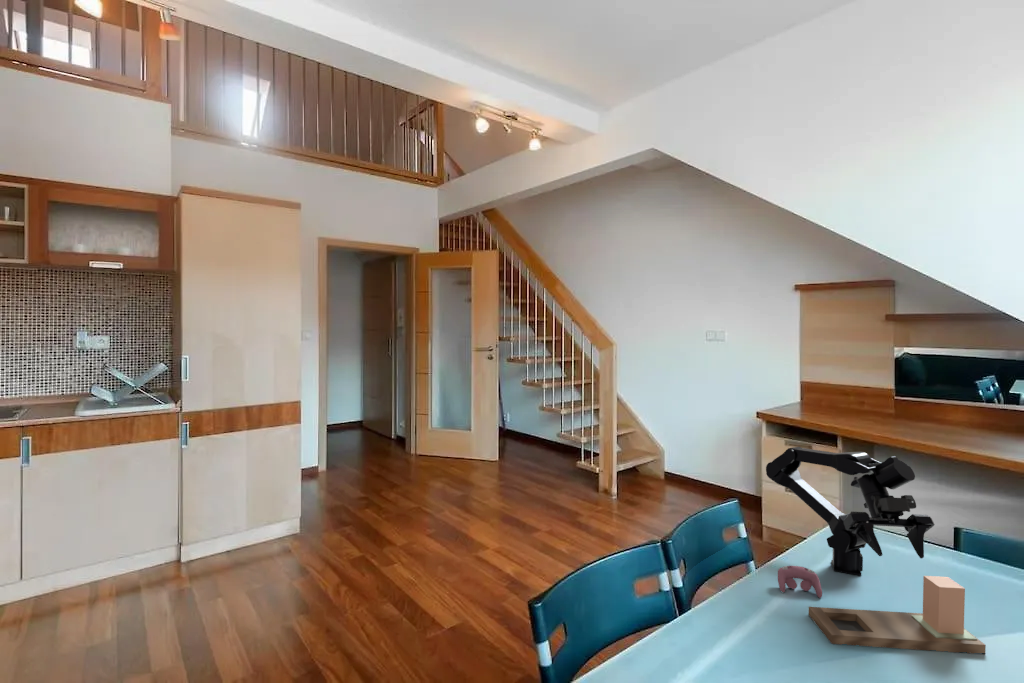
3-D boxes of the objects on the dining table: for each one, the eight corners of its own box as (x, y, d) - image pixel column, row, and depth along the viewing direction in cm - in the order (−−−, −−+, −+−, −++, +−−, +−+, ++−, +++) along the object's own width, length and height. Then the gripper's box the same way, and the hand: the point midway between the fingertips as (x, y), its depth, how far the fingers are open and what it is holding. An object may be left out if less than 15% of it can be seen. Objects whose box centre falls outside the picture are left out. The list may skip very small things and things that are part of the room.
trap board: (831, 643, 109) (831, 633, 109) (808, 614, 120) (808, 605, 120) (985, 654, 106) (985, 643, 106) (946, 623, 117) (947, 613, 117)
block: (938, 632, 109) (939, 587, 109) (922, 619, 114) (923, 575, 114) (963, 634, 109) (964, 588, 109) (946, 620, 114) (947, 576, 113)
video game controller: (819, 598, 131) (816, 568, 133) (824, 598, 127) (821, 568, 129) (777, 592, 134) (775, 563, 136) (780, 592, 130) (778, 562, 132)
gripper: (850, 480, 129) (874, 541, 119) (930, 483, 127) (962, 546, 116) (834, 500, 137) (855, 559, 127) (909, 503, 135) (937, 563, 124)
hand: (901, 556), depth 123 cm, fingers open, 9 cm apart
